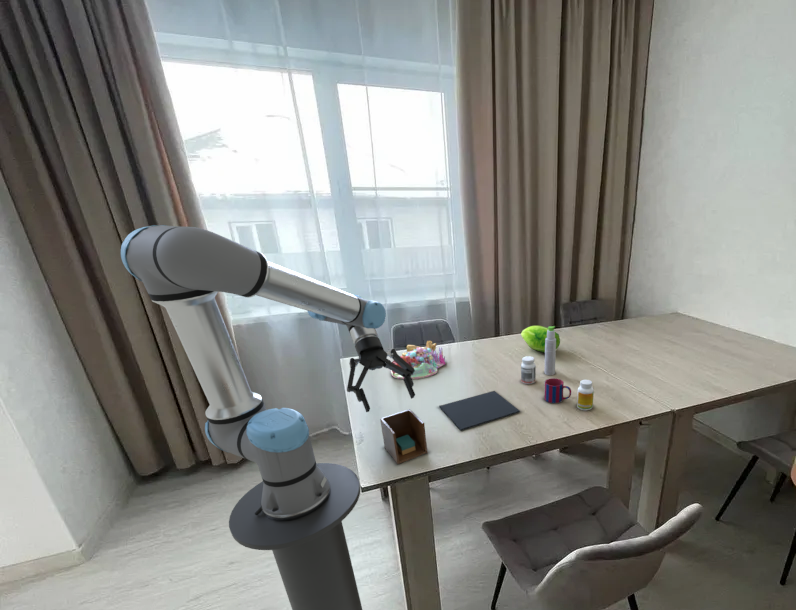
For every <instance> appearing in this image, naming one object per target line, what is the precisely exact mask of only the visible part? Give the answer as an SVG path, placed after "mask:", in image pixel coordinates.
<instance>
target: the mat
mask: <svg viewBox="0 0 796 610" xmlns="http://www.w3.org/2000/svg"><path fill="white" fill-rule="evenodd" d="M438 407H439V409H440V410H441V411H442V412H443V413H444V414H445V415H446V416H447V418H448V419H449V420H450V421H451V422H452V423H453V424H454V425H455V426H456V427H457V428H458V429H459V431H461V432H462V431H465V430H468V429H471V428H475V427H477V426H480V425H484V424H486V423H491V422H493V421H497V420H500V419H503V418H506V417H509V416H513V415H515V414H519V413H520V412H521V410H520V409H518V408H517V407H516V406H514V405H513V404H512V403H511V402H509V401H508V400H507V399H506V398H504V397H503V396H502V395H500V394H499V393H498V392H496V391H495V390H493V391H489V392H488V391H487V392H485V393H482V394H481V393H480V394H477V395H473V396H470V397H467V398H463V399H460V400H456V401H453V402H449V403H445V404H442V405H439V406H438Z"/></svg>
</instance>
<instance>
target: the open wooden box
mask: <svg viewBox="0 0 796 610" xmlns="http://www.w3.org/2000/svg"><path fill="white" fill-rule="evenodd" d="M379 421H380V427H381V432H382V433H381V434H382V439H383V446H384V448H385V450H386V451H387V452H388V454H389V455H390V456H391V458H392V459H393V460H394V462H395V463H396V464H397V465H400V464H403V463H405V462H408V461H410V460H413V459H416V458H419V457H420V456H423V455H426V454H428V453H429V452H428V445H427V436H426V427H425V422H424V421H423V420H422V418H420V417H419V416H418V415H417V414H416V413H415V412H413V410H411V409H410V408H409V409H405V410H402V411H399V412H396V413H393V414H390V415H387V416H383V417H381V418H380V419H379ZM405 435H409V436H410V438H411V439H412V440H413V441H414V442H415V449H416V450H415V451H412V452H409V453H407V454H404V455H402V454H401V453H400V451H399V450H398V449H397V442H396V438H399V437H402V436H405Z"/></svg>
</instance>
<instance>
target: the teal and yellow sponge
mask: <svg viewBox="0 0 796 610" xmlns="http://www.w3.org/2000/svg"><path fill="white" fill-rule="evenodd" d="M396 442H397V445H398V447H399V448H400V449H401V450H402V451H403V450H406V449H408V448H411V447H414V446H415V442H414V441H413V440H412V439H411V438H410V436H409V435H405V436H402V437H399V438H396Z"/></svg>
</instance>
